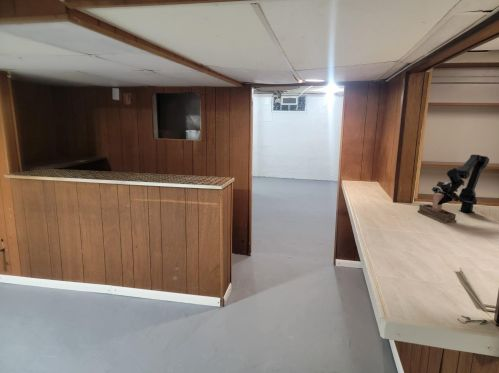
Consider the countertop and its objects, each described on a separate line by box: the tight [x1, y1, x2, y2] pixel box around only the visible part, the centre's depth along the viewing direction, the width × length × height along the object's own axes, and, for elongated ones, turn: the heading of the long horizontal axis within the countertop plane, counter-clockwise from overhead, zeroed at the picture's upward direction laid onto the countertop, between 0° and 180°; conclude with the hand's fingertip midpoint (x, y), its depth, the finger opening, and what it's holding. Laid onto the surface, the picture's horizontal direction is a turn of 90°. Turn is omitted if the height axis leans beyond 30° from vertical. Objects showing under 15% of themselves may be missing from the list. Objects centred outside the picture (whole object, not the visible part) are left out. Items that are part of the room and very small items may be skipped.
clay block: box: [431, 192, 444, 211], centre depth 200 cm, size 3×4×13 cm, turn 7°
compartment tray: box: [417, 203, 457, 224], centre depth 201 cm, size 9×24×5 cm, turn 7°
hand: (435, 203), depth 200 cm, fingers closed on clay block, 4 cm apart
